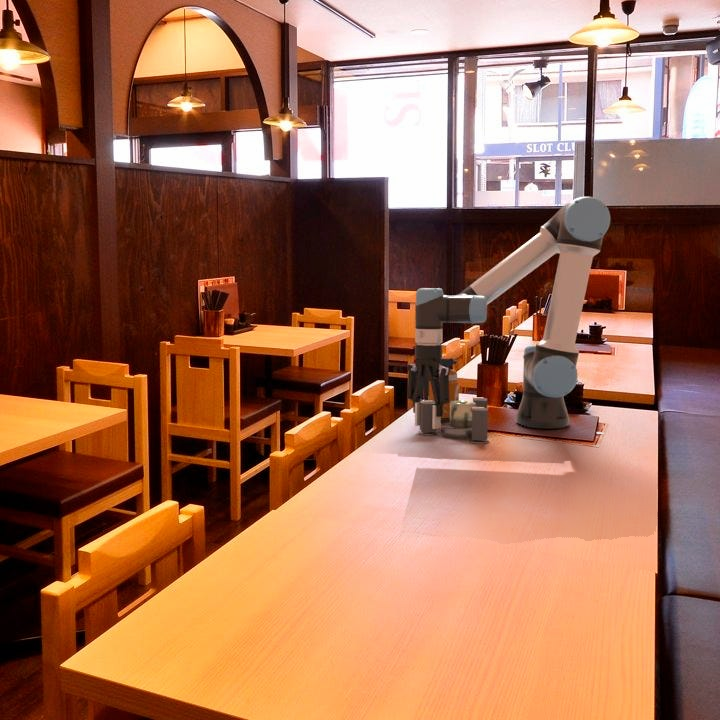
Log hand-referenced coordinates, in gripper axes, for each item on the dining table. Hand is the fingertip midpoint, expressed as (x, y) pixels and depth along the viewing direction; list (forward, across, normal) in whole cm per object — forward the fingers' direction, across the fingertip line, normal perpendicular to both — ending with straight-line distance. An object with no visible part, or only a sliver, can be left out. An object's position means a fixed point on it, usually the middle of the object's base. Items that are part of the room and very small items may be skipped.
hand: (427, 426), depth 216 cm
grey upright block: (+2, 0, 0) cm, 2 cm away
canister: (+2, -7, +15) cm, 17 cm away
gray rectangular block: (+2, +16, +2) cm, 17 cm away
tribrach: (+2, +8, +6) cm, 10 cm away
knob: (+2, +7, +15) cm, 17 cm away
